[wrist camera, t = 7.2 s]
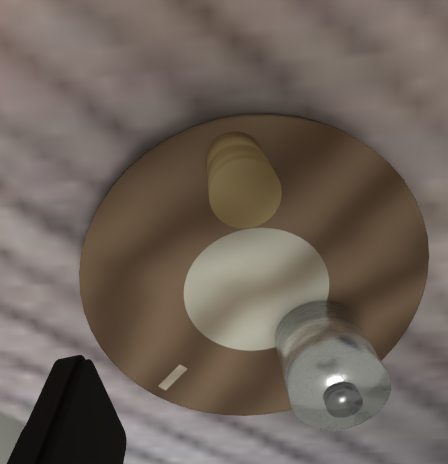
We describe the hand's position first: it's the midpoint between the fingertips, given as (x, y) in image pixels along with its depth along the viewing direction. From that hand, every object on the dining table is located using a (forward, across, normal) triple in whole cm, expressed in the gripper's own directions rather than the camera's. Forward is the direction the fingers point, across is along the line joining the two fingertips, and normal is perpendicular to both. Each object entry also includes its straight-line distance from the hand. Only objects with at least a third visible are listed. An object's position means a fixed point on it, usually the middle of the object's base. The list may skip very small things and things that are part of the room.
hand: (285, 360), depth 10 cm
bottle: (+18, -4, +15) cm, 24 cm away
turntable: (+20, 0, +10) cm, 22 cm away
